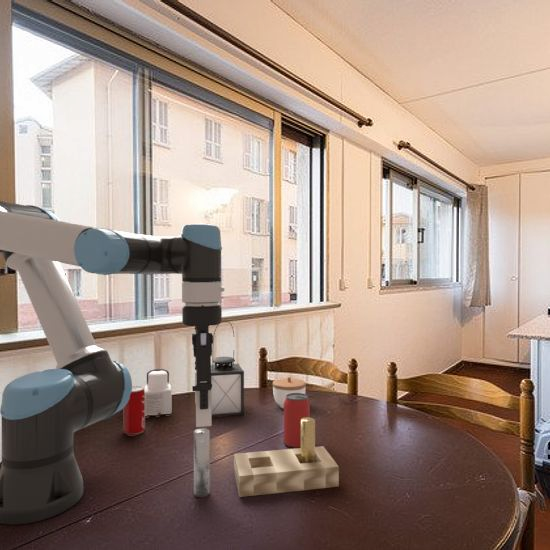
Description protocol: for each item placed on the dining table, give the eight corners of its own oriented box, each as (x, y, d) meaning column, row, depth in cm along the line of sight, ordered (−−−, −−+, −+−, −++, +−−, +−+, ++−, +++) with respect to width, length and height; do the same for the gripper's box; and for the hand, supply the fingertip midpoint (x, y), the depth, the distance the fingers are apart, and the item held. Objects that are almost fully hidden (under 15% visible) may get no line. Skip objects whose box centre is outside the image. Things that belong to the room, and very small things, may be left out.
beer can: (308, 450, 100) (308, 400, 100) (281, 447, 101) (281, 399, 101) (311, 439, 106) (311, 393, 106) (286, 437, 108) (286, 391, 108)
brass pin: (302, 481, 85) (302, 422, 85) (299, 474, 88) (299, 417, 88) (316, 479, 86) (316, 421, 86) (312, 472, 89) (312, 416, 89)
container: (144, 409, 130) (144, 368, 130) (170, 407, 132) (170, 366, 132) (144, 418, 122) (144, 374, 122) (171, 415, 125) (171, 372, 125)
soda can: (145, 434, 110) (145, 389, 110) (123, 437, 108) (123, 391, 108) (144, 427, 115) (144, 383, 115) (123, 429, 113) (123, 385, 113)
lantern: (238, 403, 136) (238, 318, 136) (244, 415, 125) (244, 322, 125) (204, 406, 133) (204, 319, 133) (207, 418, 122) (206, 323, 122)
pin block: (239, 497, 79) (239, 476, 79) (233, 472, 89) (234, 453, 89) (338, 486, 83) (338, 466, 83) (323, 464, 93) (323, 446, 93)
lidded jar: (311, 404, 135) (311, 375, 135) (295, 414, 126) (295, 383, 126) (283, 399, 141) (283, 371, 141) (266, 407, 132) (266, 378, 132)
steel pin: (193, 497, 79) (193, 434, 79) (193, 489, 82) (193, 428, 82) (209, 496, 79) (209, 433, 79) (209, 488, 82) (209, 427, 82)
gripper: (227, 308, 69) (227, 436, 69) (217, 300, 93) (217, 394, 93) (180, 309, 67) (181, 440, 67) (183, 300, 92) (183, 396, 92)
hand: (202, 413), depth 80 cm, fingers open, 13 cm apart
